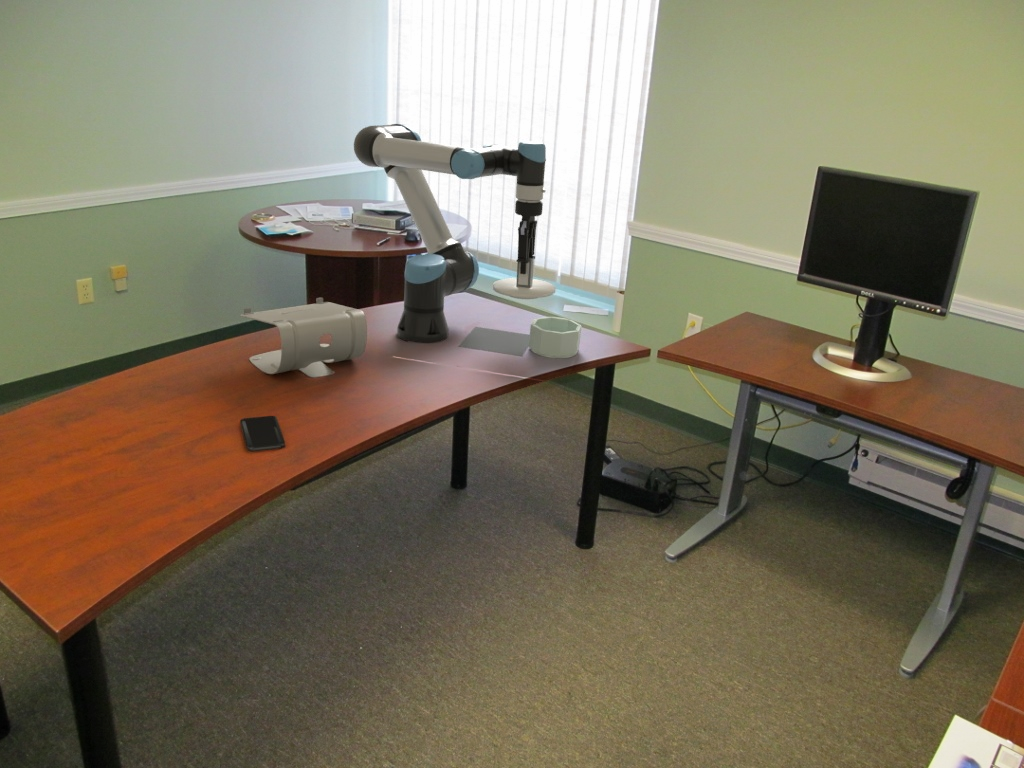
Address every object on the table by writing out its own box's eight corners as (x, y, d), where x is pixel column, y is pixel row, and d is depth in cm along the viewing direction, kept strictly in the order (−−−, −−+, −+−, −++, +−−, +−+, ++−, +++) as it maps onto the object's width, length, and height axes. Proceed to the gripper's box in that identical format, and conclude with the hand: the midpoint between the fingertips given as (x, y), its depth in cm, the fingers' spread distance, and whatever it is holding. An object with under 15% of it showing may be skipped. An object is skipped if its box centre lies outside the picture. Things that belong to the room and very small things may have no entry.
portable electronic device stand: (279, 387, 201) (277, 328, 195) (240, 356, 218) (237, 301, 212) (370, 369, 217) (370, 313, 211) (327, 341, 233) (327, 289, 227)
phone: (247, 449, 170) (239, 418, 182) (247, 453, 170) (240, 423, 183) (286, 444, 173) (276, 415, 185) (286, 449, 173) (276, 419, 186)
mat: (457, 347, 236) (457, 346, 236) (475, 327, 254) (475, 326, 253) (521, 357, 233) (521, 356, 233) (535, 336, 250) (535, 335, 250)
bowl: (525, 354, 235) (527, 328, 232) (535, 339, 248) (537, 314, 245) (573, 362, 233) (576, 335, 230) (580, 346, 245) (583, 321, 242)
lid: (485, 298, 229) (486, 262, 225) (501, 283, 246) (503, 248, 242) (547, 306, 226) (550, 269, 222) (560, 290, 242) (563, 255, 238)
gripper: (536, 205, 218) (531, 291, 226) (548, 197, 232) (543, 277, 241) (508, 203, 219) (504, 288, 228) (522, 194, 234) (518, 275, 242)
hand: (524, 282), depth 234 cm, fingers closed on lid, 3 cm apart
